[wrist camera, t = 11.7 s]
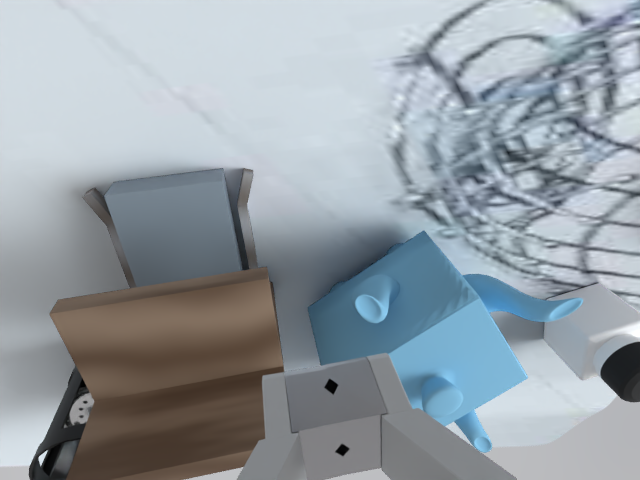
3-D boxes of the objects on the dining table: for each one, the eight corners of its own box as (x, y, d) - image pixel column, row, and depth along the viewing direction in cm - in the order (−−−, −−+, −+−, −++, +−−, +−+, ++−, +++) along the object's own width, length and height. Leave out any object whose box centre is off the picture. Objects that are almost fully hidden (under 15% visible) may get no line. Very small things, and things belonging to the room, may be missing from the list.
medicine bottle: (542, 339, 54) (614, 418, 43) (544, 298, 50) (625, 373, 40) (593, 323, 54) (678, 398, 43) (600, 281, 50) (694, 351, 40)
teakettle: (293, 356, 47) (313, 482, 35) (321, 207, 39) (362, 304, 26) (441, 356, 52) (507, 469, 39) (496, 223, 43) (603, 313, 31)
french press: (132, 311, 41) (33, 596, 21) (196, 363, 45) (164, 637, 26) (43, 370, 42) (-128, 687, 22) (113, 414, 47) (23, 710, 27)
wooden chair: (84, 188, 34) (-42, 337, 19) (253, 166, 36) (265, 286, 20) (134, 317, 41) (71, 503, 26) (274, 293, 43) (295, 455, 27)
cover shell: (114, 182, 34) (103, 195, 32) (223, 168, 35) (221, 180, 33) (153, 296, 40) (147, 316, 38) (245, 282, 41) (246, 300, 39)
